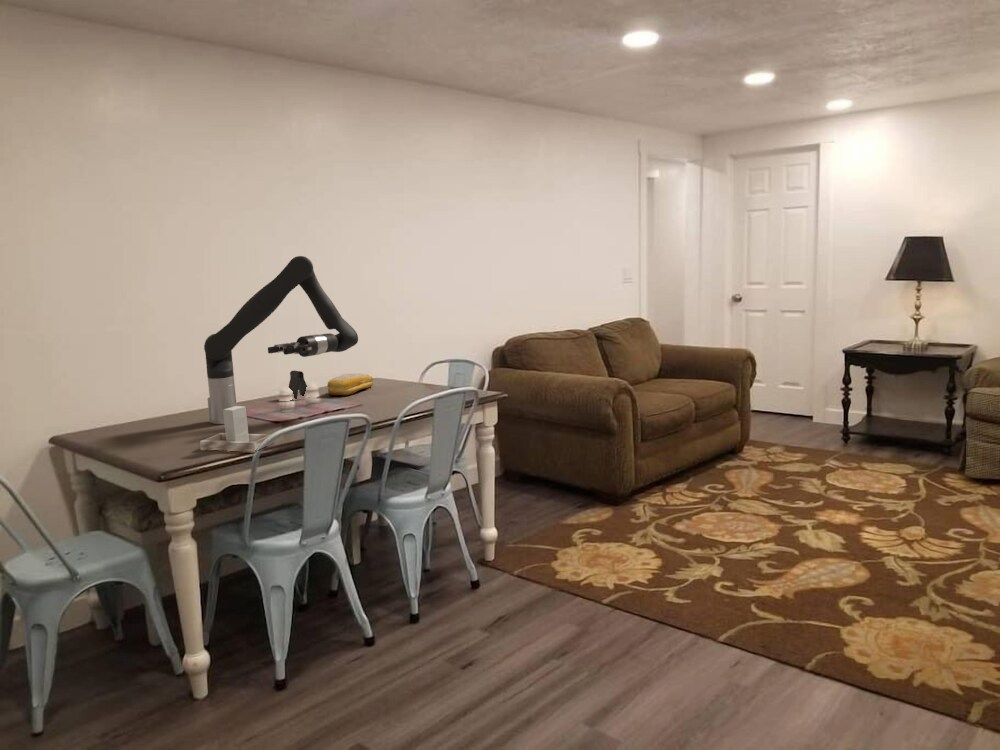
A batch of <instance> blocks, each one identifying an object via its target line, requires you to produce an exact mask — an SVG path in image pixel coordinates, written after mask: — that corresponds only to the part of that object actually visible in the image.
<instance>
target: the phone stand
mask: <svg viewBox="0 0 1000 750" xmlns="http://www.w3.org/2000/svg"><path fill="white" fill-rule="evenodd" d="M289 375H290V377H289V382H288V387H289V388H290V389H291V390H292V391H293V394H294V398H295V399H297V396H300V395H302V396H304V394H305V391H306V387H308V385H307V382H306V381H305V378H304V372H303V371H300V370H295V369H294V370H291V371H290V372H289ZM298 393H299V395H298Z"/></svg>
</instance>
